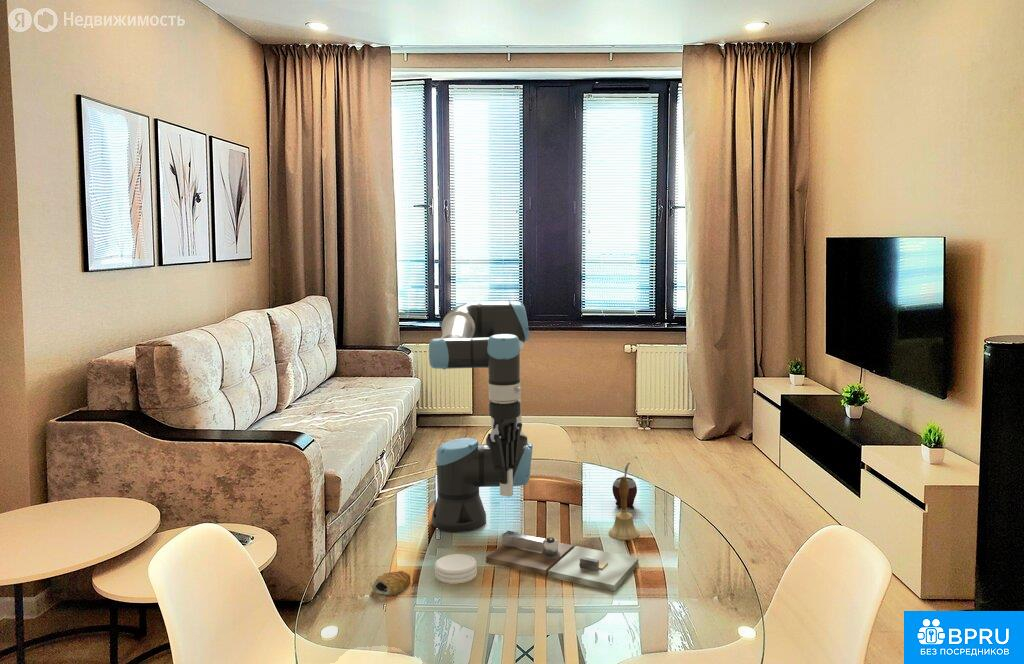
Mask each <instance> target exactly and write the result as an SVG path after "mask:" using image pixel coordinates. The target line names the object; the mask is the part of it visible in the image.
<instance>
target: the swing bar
mask: <svg viewBox="0 0 1024 664" xmlns="http://www.w3.org/2000/svg"><path fill="white" fill-rule="evenodd" d="M558 542H559V540H558V539H556V538H555V537H546V538H543V537H538V536H537V537H536V536H533V535H528V534H522V533H519V532H517V531H512V530H507V531H506V532H504V533H503V534H501V545H506V546H511V547H513V546H515V547H520V548H525V549H529V550H534V551H539V552H543V553H544V554H545V555H548V556H554V555H557V554H558Z"/></svg>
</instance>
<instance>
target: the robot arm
mask: <svg viewBox="0 0 1024 664" xmlns="http://www.w3.org/2000/svg"><path fill="white" fill-rule="evenodd" d="M528 322H529V321H528V317H527V310H526V307H525V305H524V303H522V302H520V301H510V300H506V301H471V302H467V303H463V304H461V305H458V306H456V307H455V308H453V309H451V310H450V311H448V312H447V314H446V315H444V318H443V319H442V323H441V333H442V335H441V337H439V338H438V337H437V338H432V339H430V341H429V343H428V359H429V360H428V361H429V365H430V367H431V368H432V369H440V370H441V369H442V370H447V369H448V370H451V369H485V368H486V369H487V371H488V399H489V400H490V401H488V415H489V417H491V418H490V419H491V420H490V423H491V424H490V425H491V428H490V429H491V431H490V433H488V434H487V436H486V437H485V444H479V443H480V442H479V441H478V440H477V439H476V438H473V437H460V438H455V439H454V438H453V439H451V440H448V441H445V442H443V443H442V444H440V445H439V447H437V448H436V449H437V450H436V460H435V465H436V476H437V477H436V480H437V481H436V485H437V498H436V502H435V504H434V508H433V511H432V515H431V524H432V523H433V525H434V526H435V527H436V528H438V529H439V531H440V532H441V531H442V532H446V533H467V532H472V531H475V530H479V529H481V528H483V527H484V526H485V525H486V523H487V513H486V510H485V507H484V504H483V501H482V498H481V496H480V495H481V494H480V488H487V487H488V488H489V487H493V488H494V487H499V495H500V496H502V497H507V498H508V497H509V498H511V497H513V496H514V487H521V486H526V485H528V483H529V481H530V476H531V469H532V458H533V457H532V455H533V443H530V442H528V435H526V434H525V433H524V432H523V430H522V427H523V423H522V395H521V394H522V388H521V362H520V361H521V357H520V356H521V353H520V352H521V350H523V349H524V347H525V342H527V341H529V339H530V330H529V323H528ZM433 525H432V526H433ZM434 526H433V527H434ZM435 527H434V528H435ZM436 528H435V529H436ZM438 529H437V530H438Z"/></svg>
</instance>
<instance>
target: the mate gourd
mask: <svg viewBox="0 0 1024 664" xmlns="http://www.w3.org/2000/svg"><path fill="white" fill-rule="evenodd" d="M630 464H631V463H630V462H628V463H627V464H626V465H625V467H624V477H626V480H627V482H628V486H629V492H628V497H627V509H631V510H634V509H635V507H634V503H635V499H636V496H637V492H638V487H637V484H636V481H635V479H633V478H632V477H627V472H628V467H629V466H630ZM621 477H622V476H619V477H617V478H616V479H615V480H614V481H613V484H612V487H611V488H612V495H613V497H614V499H615V501H616V502H614V503H615V505H618V506H617V509H618V510H621V497H620V494H619V483H620V480H621Z"/></svg>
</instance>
